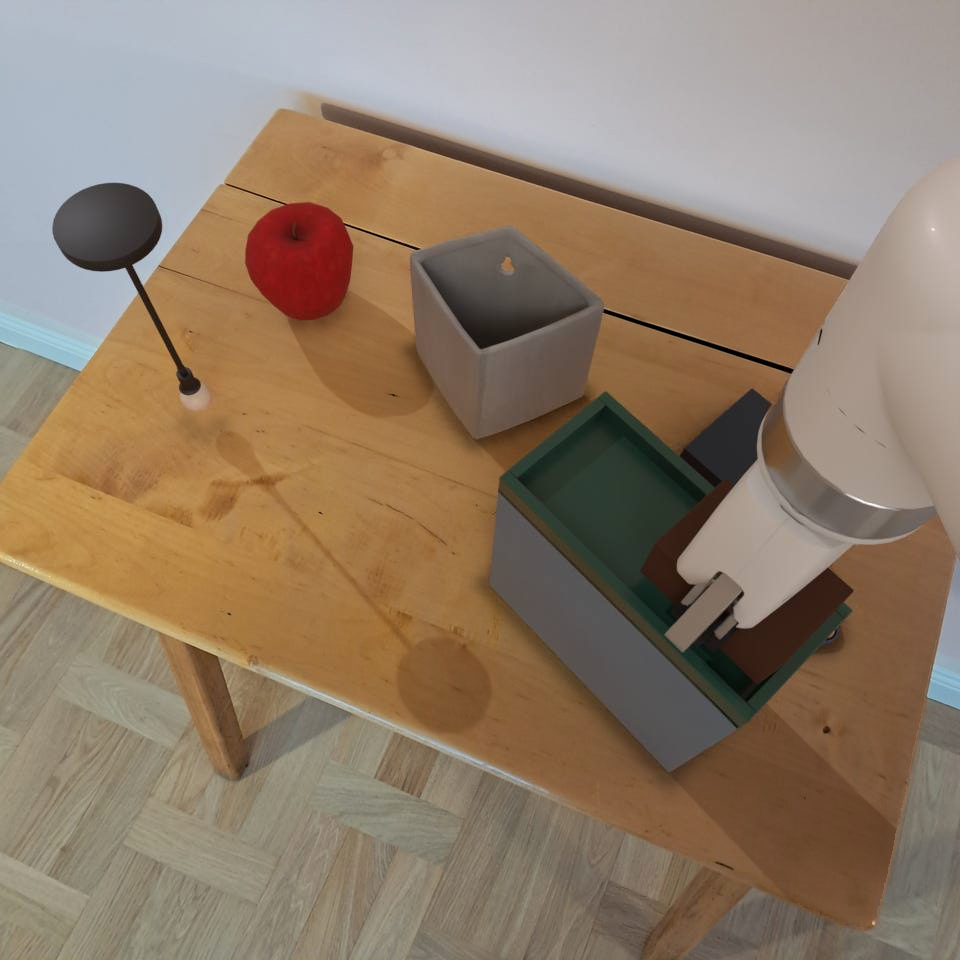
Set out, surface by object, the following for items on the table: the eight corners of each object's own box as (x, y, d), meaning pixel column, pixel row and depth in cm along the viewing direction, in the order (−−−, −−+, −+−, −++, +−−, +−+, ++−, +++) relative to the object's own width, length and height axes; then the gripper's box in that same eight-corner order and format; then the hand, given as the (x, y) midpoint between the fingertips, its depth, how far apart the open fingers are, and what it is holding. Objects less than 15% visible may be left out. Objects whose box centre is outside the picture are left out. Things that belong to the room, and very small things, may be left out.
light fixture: (176, 457, 77) (59, 272, 54) (161, 396, 79) (45, 196, 57) (250, 436, 78) (166, 246, 55) (234, 376, 81) (148, 172, 58)
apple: (316, 245, 88) (298, 163, 78) (382, 299, 85) (372, 220, 75) (239, 302, 84) (211, 223, 75) (305, 360, 82) (284, 285, 72)
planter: (389, 416, 79) (370, 277, 62) (418, 347, 83) (407, 197, 65) (562, 464, 77) (592, 336, 60) (584, 391, 81) (618, 250, 63)
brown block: (706, 510, 53) (726, 477, 49) (823, 616, 50) (855, 590, 46) (639, 571, 51) (654, 542, 47) (757, 685, 48) (784, 664, 44)
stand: (750, 688, 69) (839, 620, 53) (668, 773, 66) (737, 729, 50) (570, 514, 75) (601, 406, 59) (488, 584, 72) (497, 491, 56)
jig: (839, 620, 53) (853, 610, 51) (737, 729, 50) (748, 722, 48) (601, 406, 59) (605, 390, 57) (497, 491, 56) (498, 476, 54)
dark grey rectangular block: (788, 456, 78) (806, 432, 74) (723, 517, 75) (738, 495, 71) (737, 413, 80) (752, 387, 76) (671, 471, 77) (683, 447, 73)
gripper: (912, 271, 38) (776, 461, 54) (644, 511, 33) (582, 642, 49) (1063, 380, 36) (874, 545, 52) (801, 657, 30) (682, 745, 47)
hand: (734, 591), depth 50 cm, fingers closed on brown block, 5 cm apart
